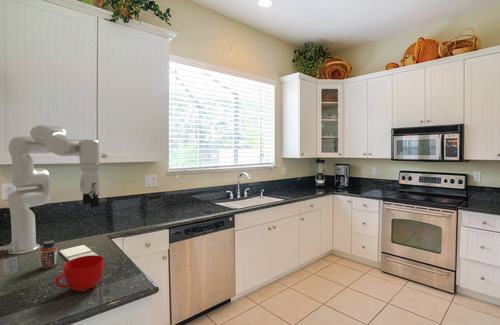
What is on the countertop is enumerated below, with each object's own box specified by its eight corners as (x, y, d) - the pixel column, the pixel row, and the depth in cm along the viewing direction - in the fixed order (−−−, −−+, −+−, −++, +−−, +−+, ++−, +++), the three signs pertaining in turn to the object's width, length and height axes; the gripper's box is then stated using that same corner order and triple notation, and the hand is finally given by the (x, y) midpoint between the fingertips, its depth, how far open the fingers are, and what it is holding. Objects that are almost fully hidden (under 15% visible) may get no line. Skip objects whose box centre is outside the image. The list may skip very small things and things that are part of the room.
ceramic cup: (44, 298, 93) (43, 270, 93) (88, 277, 109) (88, 253, 109) (69, 306, 89) (68, 277, 88) (112, 282, 105) (111, 257, 104)
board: (75, 268, 117) (75, 265, 117) (59, 252, 135) (59, 249, 135) (102, 260, 126) (102, 257, 125) (84, 246, 144) (84, 244, 143)
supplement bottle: (38, 270, 115) (38, 245, 114) (43, 265, 120) (42, 240, 120) (55, 268, 117) (54, 243, 117) (59, 263, 123) (58, 239, 122)
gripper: (74, 166, 121) (75, 204, 121) (86, 168, 109) (87, 209, 110) (92, 166, 126) (93, 201, 127) (106, 167, 115) (107, 206, 116)
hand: (90, 205), depth 118 cm, fingers open, 9 cm apart
